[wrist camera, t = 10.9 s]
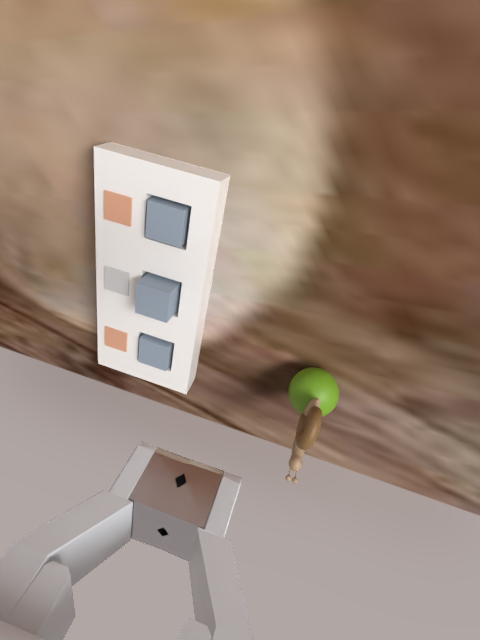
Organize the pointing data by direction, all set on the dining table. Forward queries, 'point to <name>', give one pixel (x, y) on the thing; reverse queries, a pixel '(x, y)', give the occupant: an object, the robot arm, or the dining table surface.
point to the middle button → (157, 297)
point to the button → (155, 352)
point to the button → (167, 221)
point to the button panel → (152, 257)
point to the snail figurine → (310, 409)
